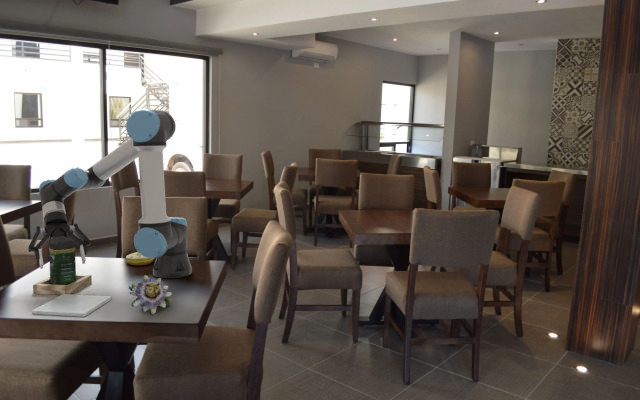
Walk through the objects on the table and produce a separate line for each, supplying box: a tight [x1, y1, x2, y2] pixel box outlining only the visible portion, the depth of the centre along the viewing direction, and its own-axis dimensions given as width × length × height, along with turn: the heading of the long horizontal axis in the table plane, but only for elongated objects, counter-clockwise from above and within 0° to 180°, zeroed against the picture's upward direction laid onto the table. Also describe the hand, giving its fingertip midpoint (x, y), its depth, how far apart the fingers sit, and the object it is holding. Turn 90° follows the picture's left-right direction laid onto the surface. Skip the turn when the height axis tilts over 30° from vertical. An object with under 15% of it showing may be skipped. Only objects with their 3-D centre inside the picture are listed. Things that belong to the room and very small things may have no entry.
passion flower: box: [128, 274, 173, 315], centre depth 167 cm, size 13×12×14 cm
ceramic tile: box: [31, 293, 112, 318], centre depth 168 cm, size 17×17×1 cm
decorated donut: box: [125, 251, 154, 266], centre depth 225 cm, size 11×12×4 cm
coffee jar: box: [48, 236, 77, 285], centre depth 186 cm, size 10×8×19 cm
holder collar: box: [32, 273, 92, 296], centre depth 187 cm, size 13×15×3 cm
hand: (63, 264), depth 184 cm, fingers open, 13 cm apart
